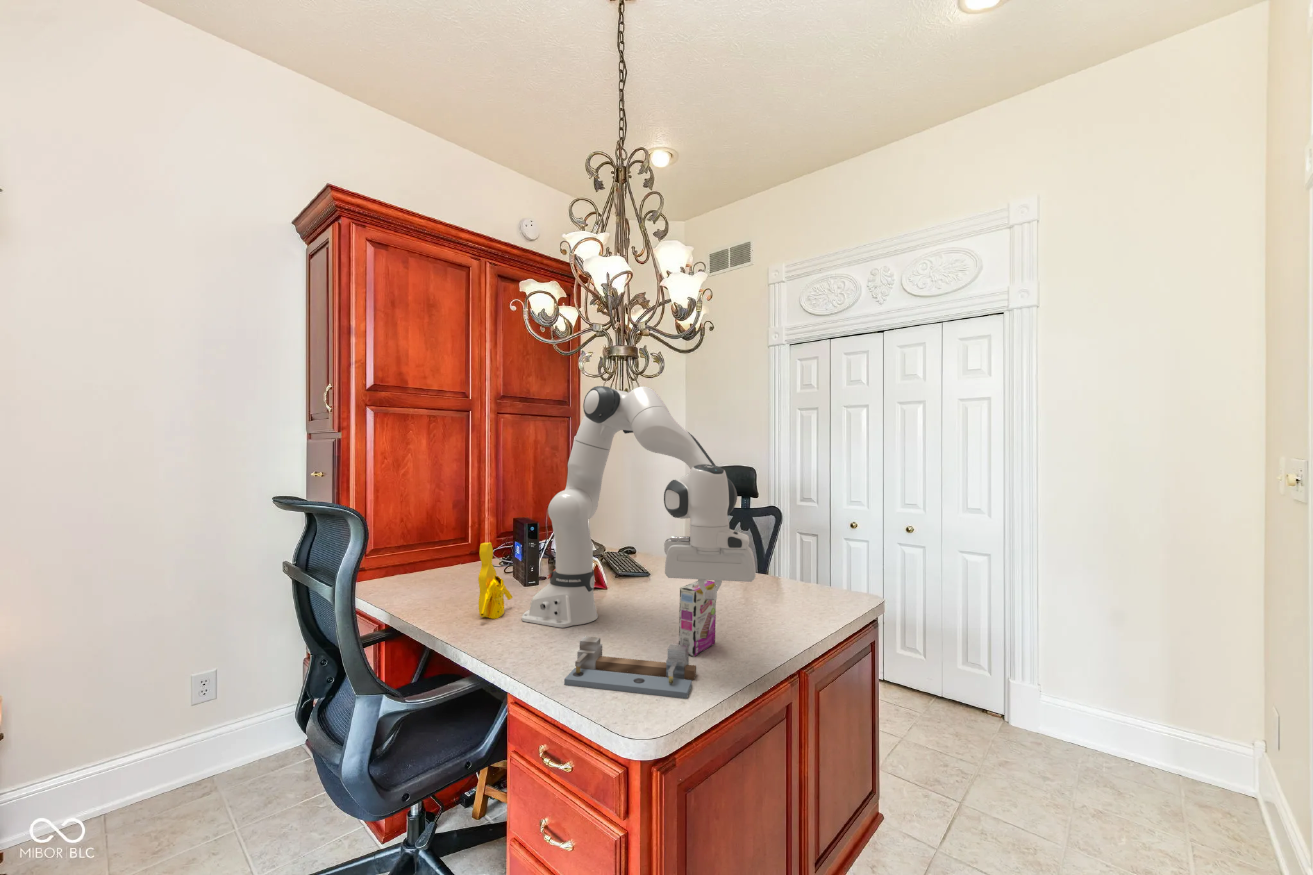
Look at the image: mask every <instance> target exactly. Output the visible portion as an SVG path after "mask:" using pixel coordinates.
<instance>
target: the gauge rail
mask: <svg viewBox="0 0 1313 875" xmlns="http://www.w3.org/2000/svg"><path fill="white" fill-rule="evenodd" d="M576 652H577V653H576V654H577V656H576V658H577V659H576V660H575V662H574V663H575V664H574V667H575V668H576V673H580V668H581V669H590V670H600V671H609V672H618V673H628V674H637V675H647V676H656V677H666V661H665V662H664V661H656V660H655V661H654V660H644V659H635V658H626V657H625V658H624V657H623V658H622V657H614V656H605V655H603V643H601V637H599V636H598V637H597V636H588V635H587V636H585V635H584V636H583V637H582V638H581V639H580V640H579V650H578V651H576ZM696 676H697V665H696V664H695V665H694V664H689V665H687V666H686V668H685V679H684V680H692V681H695V678H696Z"/></svg>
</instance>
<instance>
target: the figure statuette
mask: <svg viewBox="0 0 1313 875" xmlns="http://www.w3.org/2000/svg"><path fill="white" fill-rule="evenodd" d="M493 558H494V549H493V545H492V542H482V543H480V546H479V560H480V562H481V566H480V571H479V574H478V580H477V581H478V587H479V594H478V595H479V596H478V613H479V617H480V618H489V619H492V620H493V619H494V620H495V619H500V617H501V618H502V616H503V614H505V601H504V595H505V597H506V599H507V600H508V601H509V600H511V599H513V597H514V596H513V595H512V594H511V592H510V591H509V590H508V589H507V586H506V585H505V581H504V579H503V578H501V577H500V576H498V575H497V571H496V569H495V567H494V564H493Z"/></svg>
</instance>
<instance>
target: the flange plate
mask: <svg viewBox="0 0 1313 875" xmlns="http://www.w3.org/2000/svg"><path fill="white" fill-rule="evenodd" d="M563 685H564V686H565V685H566V686H572V687H573V686H575V687H581V688H589V689H590V688H591V689H600V690H609V691H616V692H617V691H618V692H627V693H635V694H641V695H642V694H643V695H653V696H661V697H670V698H678V699H679V698H680V699H685V700H686V699H688V696H689V694H690V692H691V689H692V687H693V680H690V679H675V678H673V683H669V678H666V677H661V676H652V675H642V674H633V673H624V672H614V671H605V670H590V669H581V668H580V673H576V667H574V668H573V669H572V670H571V672H569V673H568V675H567V676H566V677H565V678H564V681H563Z"/></svg>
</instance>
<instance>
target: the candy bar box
mask: <svg viewBox="0 0 1313 875" xmlns="http://www.w3.org/2000/svg"><path fill="white" fill-rule="evenodd" d="M704 585H705V587H706V589H707V590H714V589H715V588H716V586H717V585H715V581H714V580H705V583H704ZM716 606H717V600H704V599H703V592H702V590H701V588H700V587H699V585H698V580H697V581H694V582H691V583H689V584H686V585H684V586H680V587H679V613H678V615H679V616H678V617H679V623H678V627H679V628H678V645H688V652H689V656H690V657H692V658H693V657H696V656H697V655H699V654H700V653H702V652H704V651H705V650H707V649H709V648H710V647H712V646H713V645H715V644H716V619H717V618H716V617H717V615H716V614H717V613H716V612H717V611H716V610H717V608H716Z"/></svg>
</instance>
